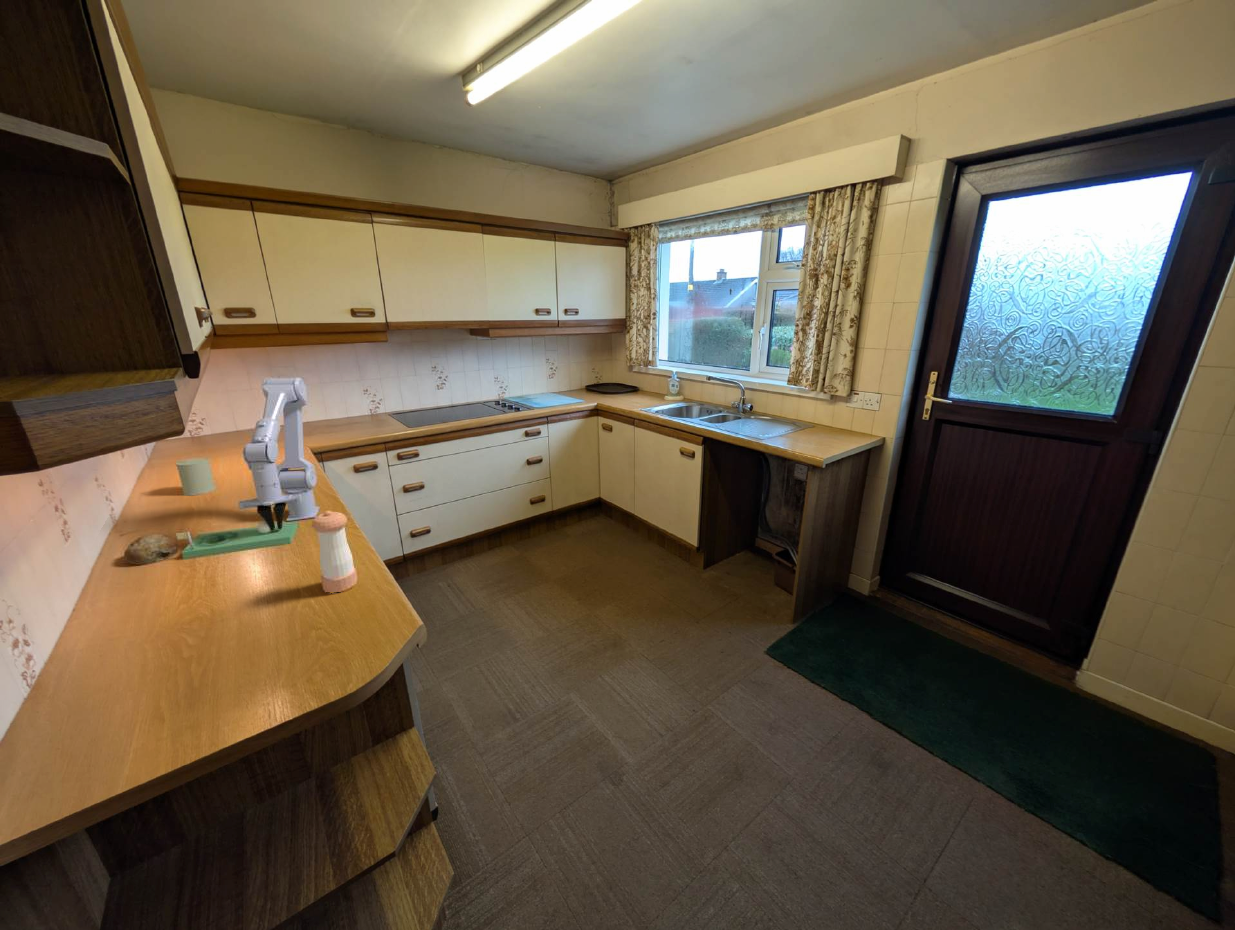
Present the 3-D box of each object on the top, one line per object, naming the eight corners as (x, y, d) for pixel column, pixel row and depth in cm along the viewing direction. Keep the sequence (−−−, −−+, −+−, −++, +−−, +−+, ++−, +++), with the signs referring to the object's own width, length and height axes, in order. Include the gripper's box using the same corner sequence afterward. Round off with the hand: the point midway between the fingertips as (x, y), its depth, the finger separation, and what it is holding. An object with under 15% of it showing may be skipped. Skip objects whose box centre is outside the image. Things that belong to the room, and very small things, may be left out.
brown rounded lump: (144, 579, 123) (146, 556, 120) (111, 560, 123) (113, 536, 120) (184, 561, 132) (188, 539, 129) (153, 544, 132) (156, 521, 130)
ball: (263, 531, 139) (256, 522, 137) (276, 526, 140) (269, 516, 138) (260, 537, 136) (253, 527, 134) (274, 532, 137) (267, 522, 135)
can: (188, 488, 177) (180, 458, 174) (219, 485, 181) (212, 455, 177) (179, 497, 169) (170, 464, 166) (212, 493, 173) (204, 461, 169)
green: (197, 541, 136) (191, 518, 134) (298, 527, 146) (293, 505, 144) (181, 559, 126) (174, 535, 124) (290, 543, 135) (286, 520, 133)
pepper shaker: (319, 595, 110) (304, 519, 104) (328, 579, 117) (314, 507, 111) (353, 591, 112) (341, 515, 106) (361, 575, 119) (349, 504, 113)
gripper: (231, 491, 128) (242, 538, 131) (295, 484, 134) (303, 529, 137) (238, 484, 134) (248, 528, 138) (299, 477, 140) (307, 520, 143)
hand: (276, 528), depth 138 cm, fingers closed
